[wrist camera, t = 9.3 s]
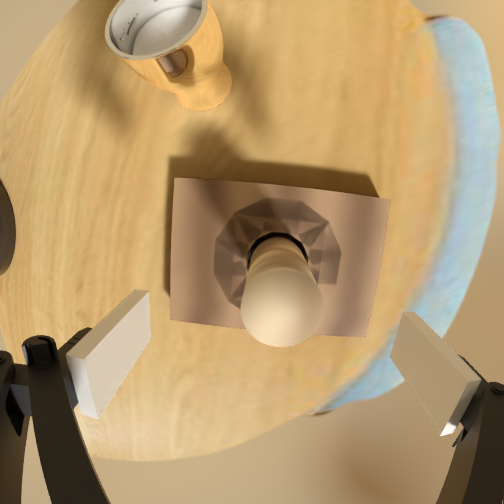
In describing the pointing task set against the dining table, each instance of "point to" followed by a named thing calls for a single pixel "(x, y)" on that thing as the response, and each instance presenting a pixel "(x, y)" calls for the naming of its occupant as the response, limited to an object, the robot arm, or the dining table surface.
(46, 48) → the dining table surface
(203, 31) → the metal cup
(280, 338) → the peg
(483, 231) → the dining table surface
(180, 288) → the board
